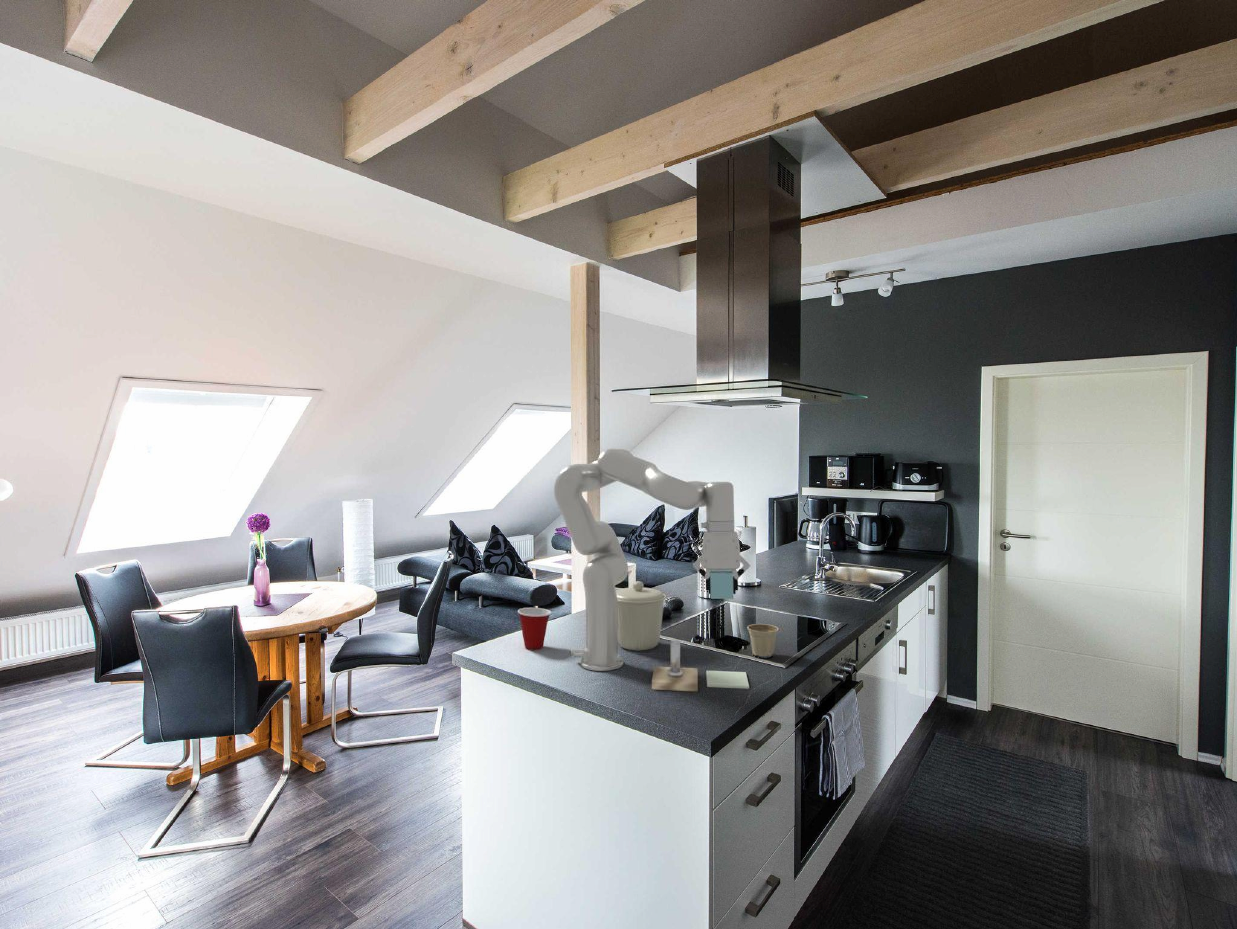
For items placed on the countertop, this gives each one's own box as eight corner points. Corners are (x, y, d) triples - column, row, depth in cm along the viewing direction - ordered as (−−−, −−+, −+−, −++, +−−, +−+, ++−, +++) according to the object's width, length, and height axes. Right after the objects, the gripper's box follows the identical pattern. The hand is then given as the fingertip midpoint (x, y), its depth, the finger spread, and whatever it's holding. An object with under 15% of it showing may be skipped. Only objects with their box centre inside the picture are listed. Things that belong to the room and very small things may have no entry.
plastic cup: (555, 650, 198) (555, 612, 198) (521, 654, 194) (521, 615, 194) (546, 640, 208) (546, 604, 208) (514, 644, 204) (514, 607, 204)
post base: (651, 689, 165) (651, 681, 165) (654, 673, 176) (654, 666, 176) (697, 691, 163) (697, 683, 163) (697, 675, 175) (697, 668, 175)
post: (667, 677, 168) (667, 643, 168) (668, 672, 172) (668, 639, 172) (682, 677, 168) (682, 644, 167) (682, 672, 172) (682, 639, 171)
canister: (666, 638, 210) (666, 576, 210) (665, 655, 192) (665, 587, 192) (613, 637, 212) (613, 575, 212) (607, 654, 194) (607, 586, 194)
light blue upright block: (710, 598, 168) (710, 573, 168) (710, 593, 174) (710, 569, 174) (733, 598, 167) (732, 573, 167) (732, 594, 173) (731, 569, 173)
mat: (707, 686, 166) (707, 684, 166) (706, 672, 177) (706, 670, 177) (749, 688, 165) (749, 686, 165) (745, 674, 176) (745, 672, 176)
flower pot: (741, 652, 195) (741, 625, 195) (766, 649, 198) (766, 622, 198) (758, 662, 186) (758, 633, 186) (784, 658, 190) (784, 630, 190)
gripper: (688, 528, 168) (689, 595, 168) (753, 528, 165) (755, 596, 165) (688, 525, 175) (690, 590, 175) (751, 525, 173) (753, 590, 173)
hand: (721, 592), depth 170 cm, fingers closed on light blue upright block, 5 cm apart
